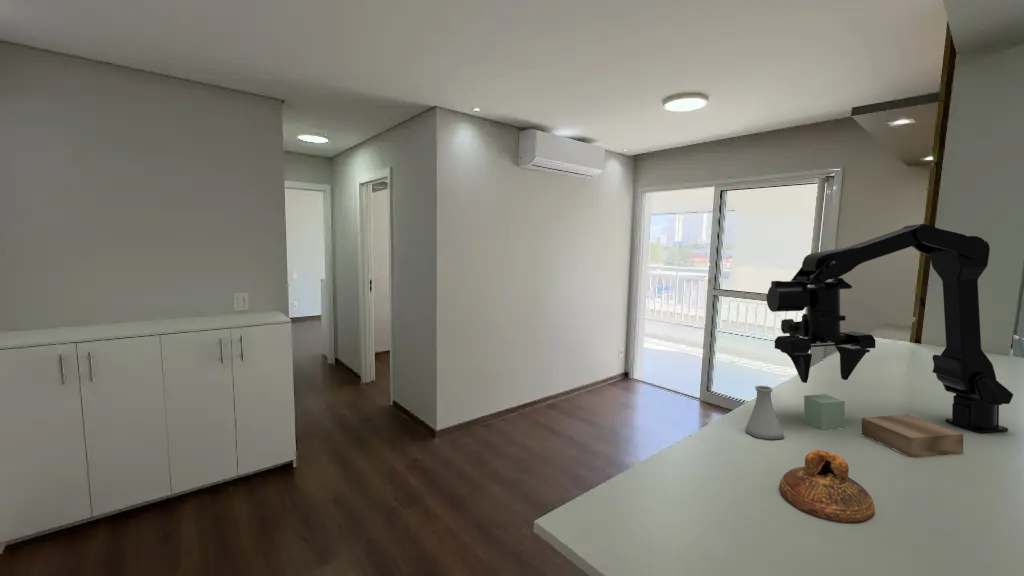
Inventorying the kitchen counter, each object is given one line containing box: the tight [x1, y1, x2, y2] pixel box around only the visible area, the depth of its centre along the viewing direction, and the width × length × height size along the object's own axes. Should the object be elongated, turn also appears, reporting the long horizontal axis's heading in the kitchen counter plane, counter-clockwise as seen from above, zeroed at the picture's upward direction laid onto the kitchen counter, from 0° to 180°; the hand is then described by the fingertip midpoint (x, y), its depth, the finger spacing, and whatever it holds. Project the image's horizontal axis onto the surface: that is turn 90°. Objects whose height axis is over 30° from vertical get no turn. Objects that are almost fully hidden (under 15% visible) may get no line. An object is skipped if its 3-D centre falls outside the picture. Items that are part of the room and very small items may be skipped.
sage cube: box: [803, 393, 846, 431], centre depth 90 cm, size 5×5×6 cm
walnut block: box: [861, 414, 964, 458], centre depth 80 cm, size 10×10×4 cm
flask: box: [745, 385, 785, 440], centre depth 87 cm, size 7×7×10 cm
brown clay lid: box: [779, 449, 876, 523], centre depth 63 cm, size 12×12×7 cm
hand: (824, 381), depth 90 cm, fingers open, 9 cm apart
